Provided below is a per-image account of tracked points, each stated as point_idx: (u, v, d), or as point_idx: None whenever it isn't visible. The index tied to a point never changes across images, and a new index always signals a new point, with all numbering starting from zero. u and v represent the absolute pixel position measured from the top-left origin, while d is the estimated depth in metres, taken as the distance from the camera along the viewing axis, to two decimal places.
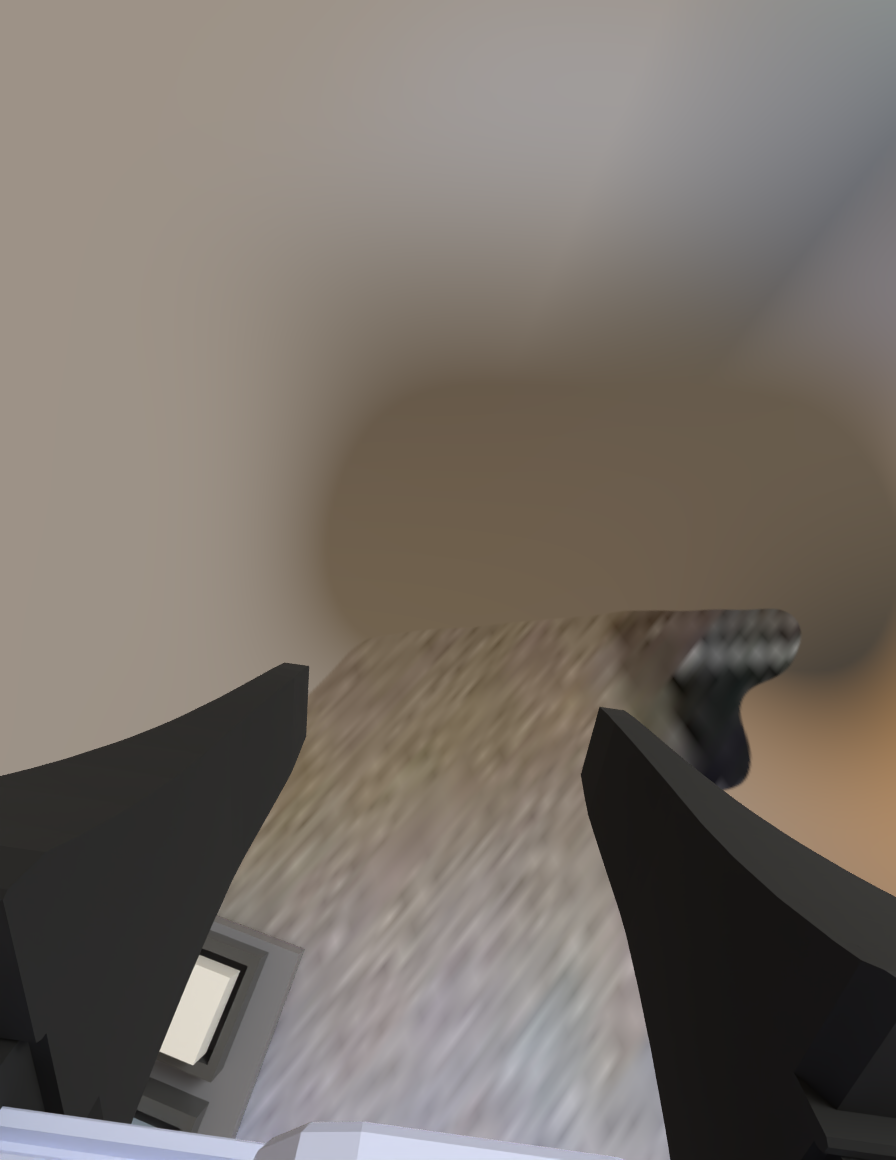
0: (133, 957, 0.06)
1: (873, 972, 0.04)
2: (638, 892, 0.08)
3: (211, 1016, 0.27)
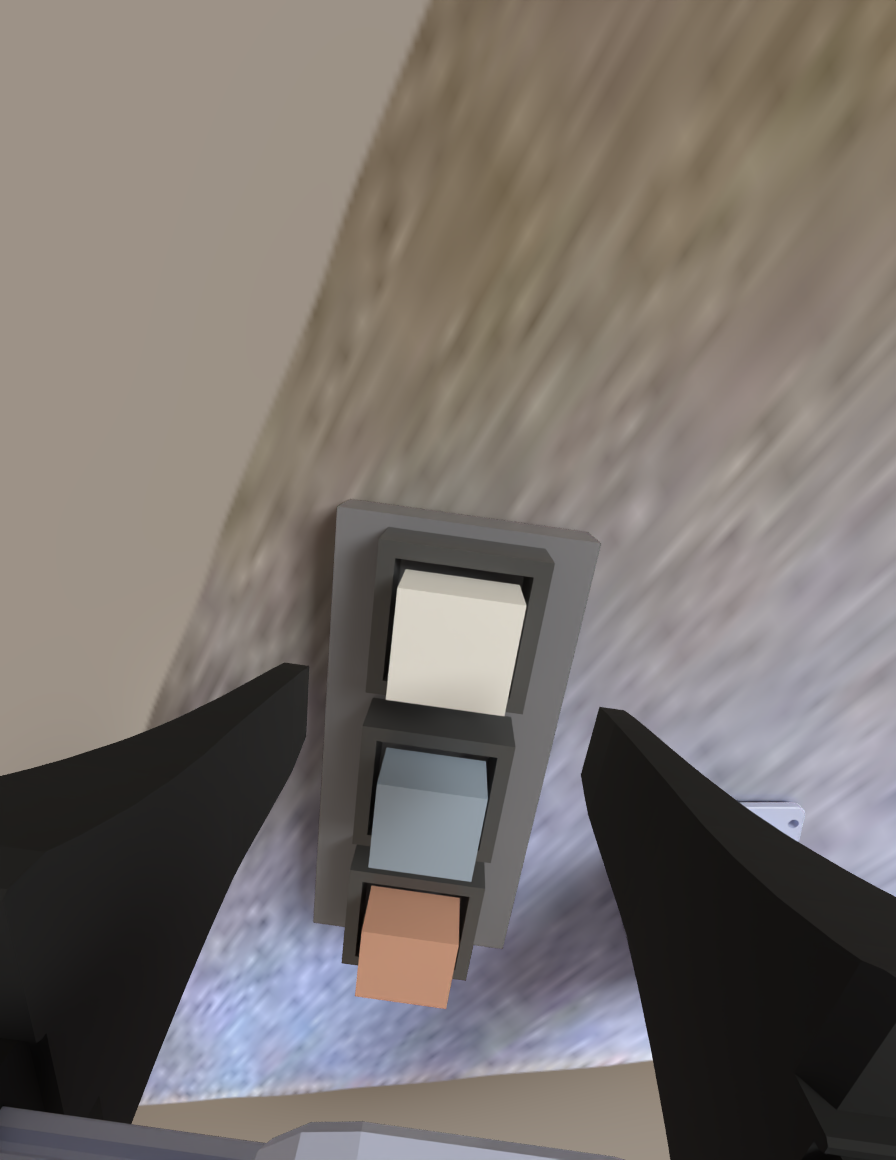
0: (133, 958, 0.06)
1: (873, 972, 0.04)
2: (638, 892, 0.08)
3: (511, 659, 0.15)
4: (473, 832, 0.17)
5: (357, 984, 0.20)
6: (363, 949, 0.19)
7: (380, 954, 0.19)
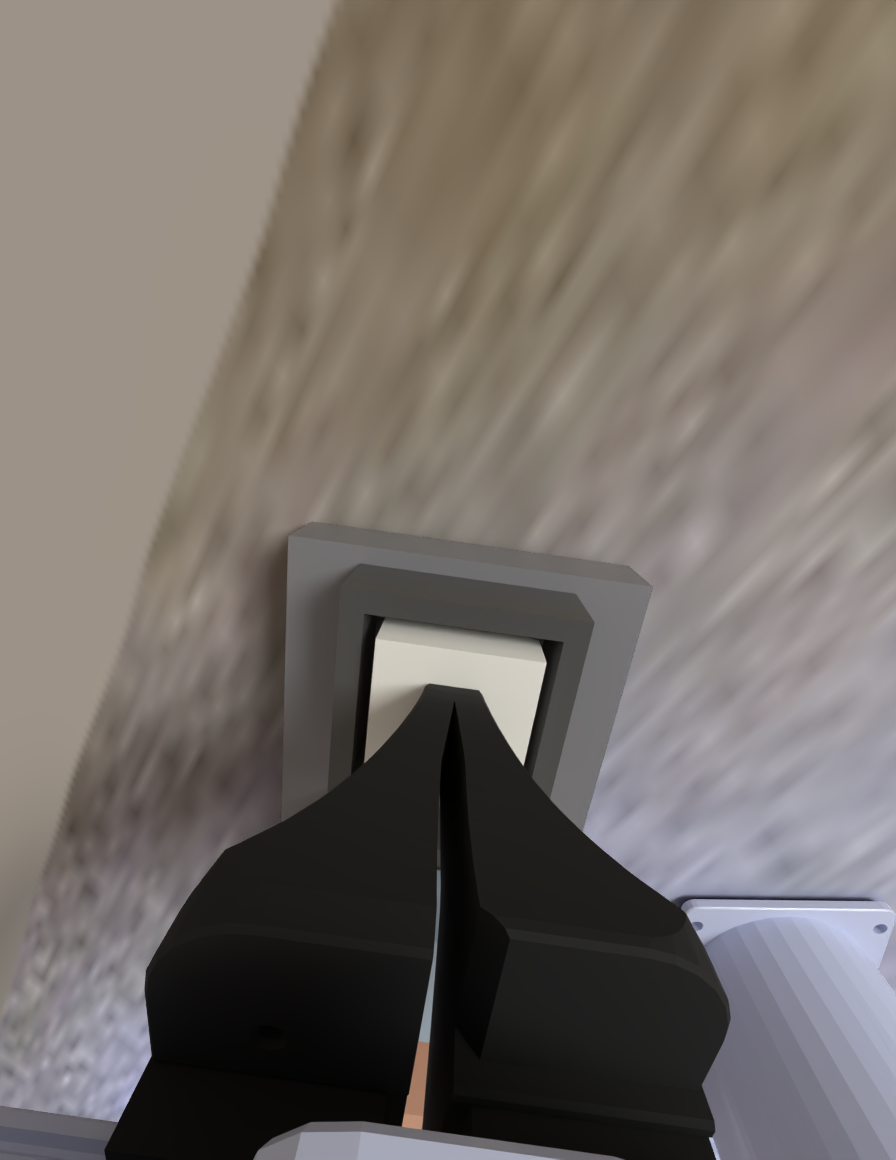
0: None
1: (489, 918, 0.04)
2: (446, 865, 0.08)
3: (526, 730, 0.11)
4: None
5: None
6: None
7: None
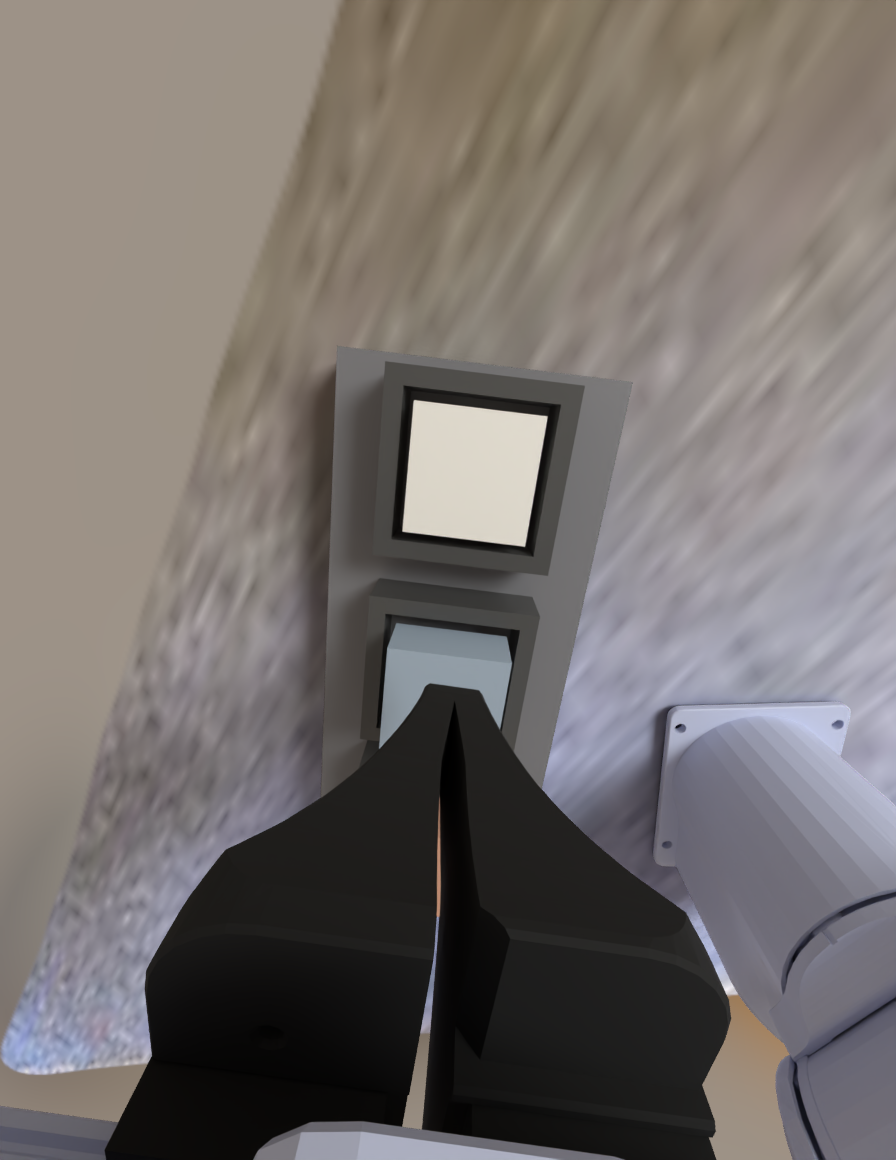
0: None
1: (489, 918, 0.04)
2: (446, 865, 0.08)
3: (532, 479, 0.14)
4: (495, 704, 0.15)
5: None
6: None
7: None
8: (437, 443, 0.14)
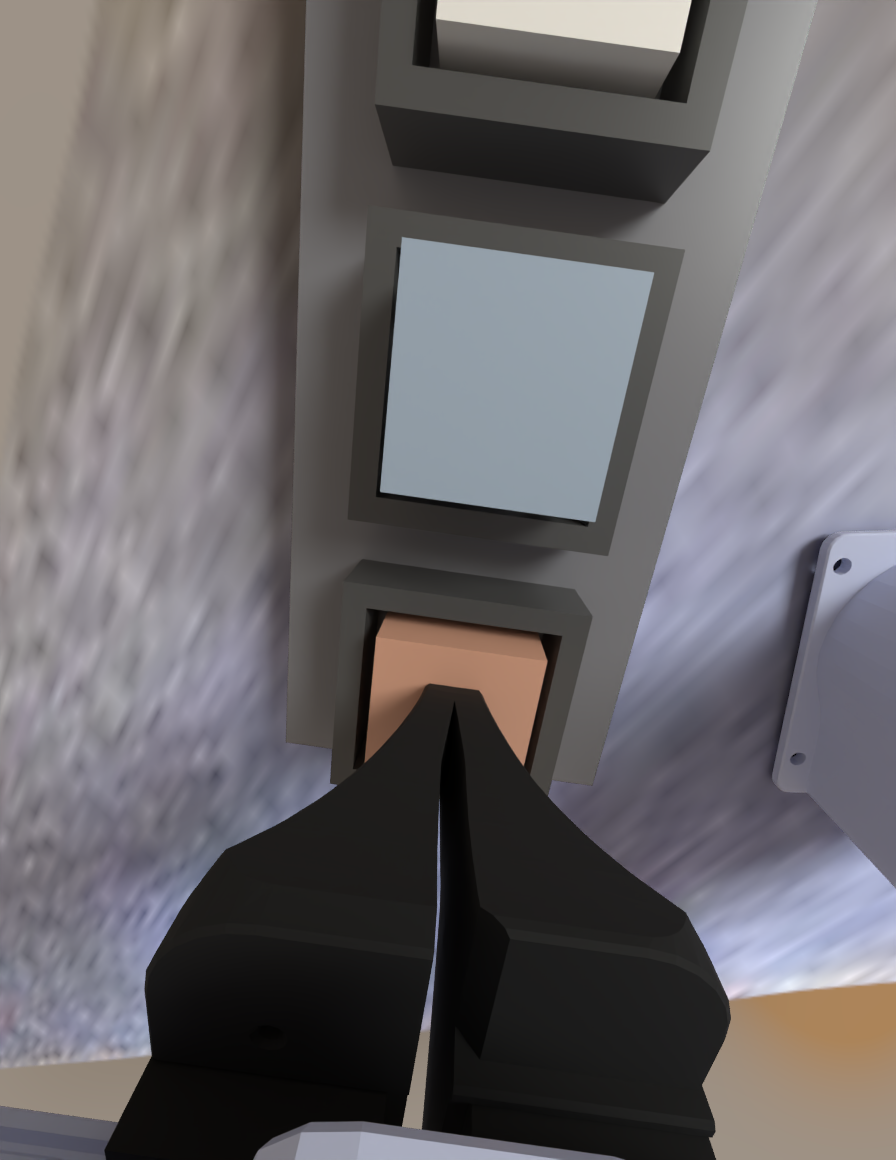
0: None
1: (489, 918, 0.04)
2: (446, 865, 0.08)
3: None
4: (612, 377, 0.08)
5: (367, 752, 0.12)
6: (378, 676, 0.11)
7: (408, 686, 0.11)
8: None
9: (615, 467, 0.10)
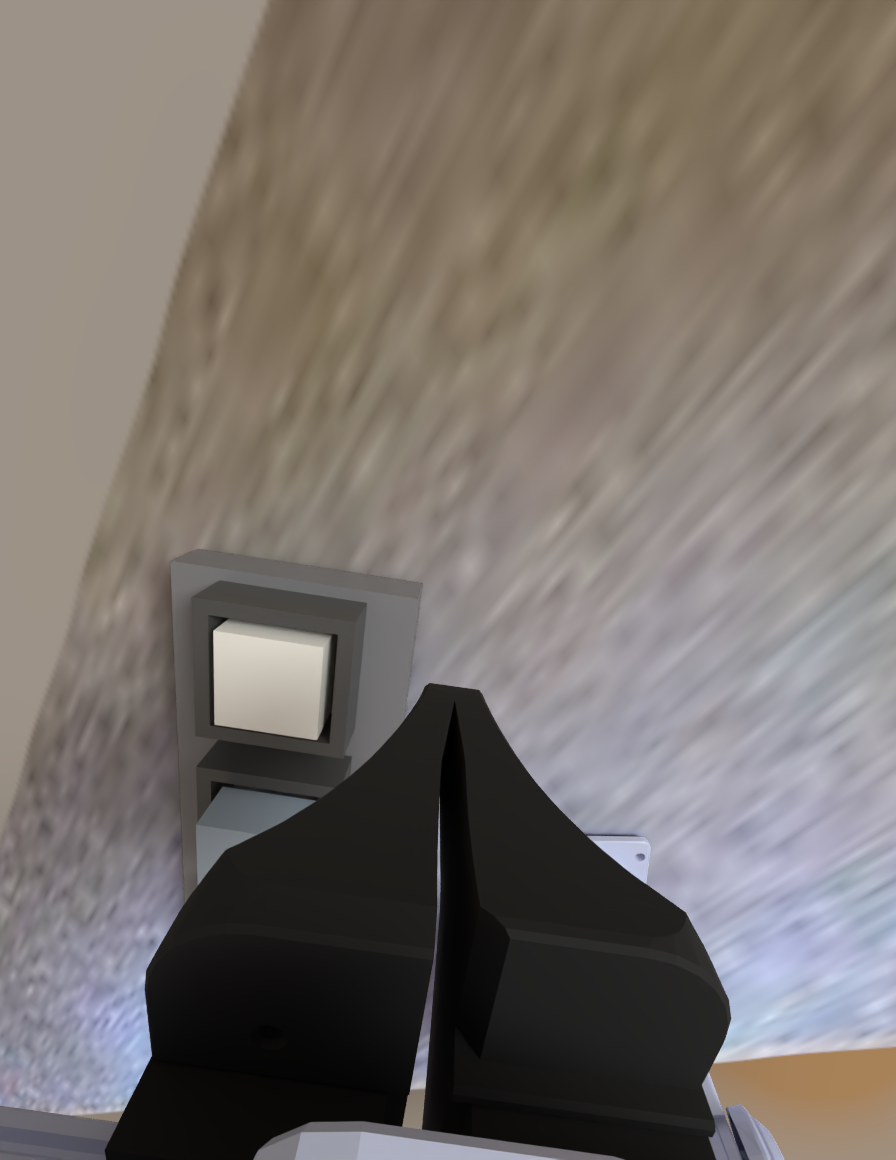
0: None
1: (489, 918, 0.04)
2: (446, 865, 0.08)
3: (317, 692, 0.17)
4: None
5: None
6: None
7: None
8: (236, 662, 0.17)
9: None
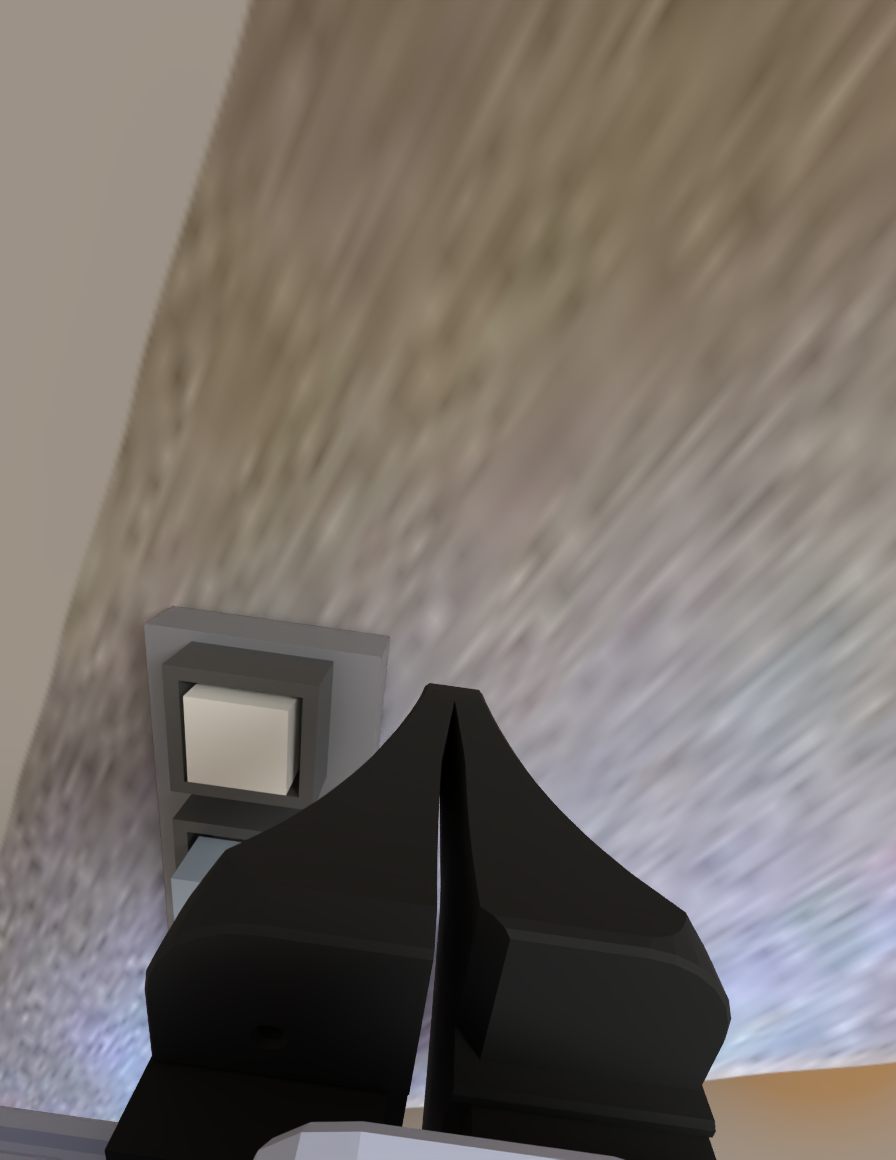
0: None
1: (489, 918, 0.04)
2: (446, 865, 0.08)
3: (284, 751, 0.18)
4: None
5: None
6: None
7: None
8: (205, 724, 0.18)
9: None
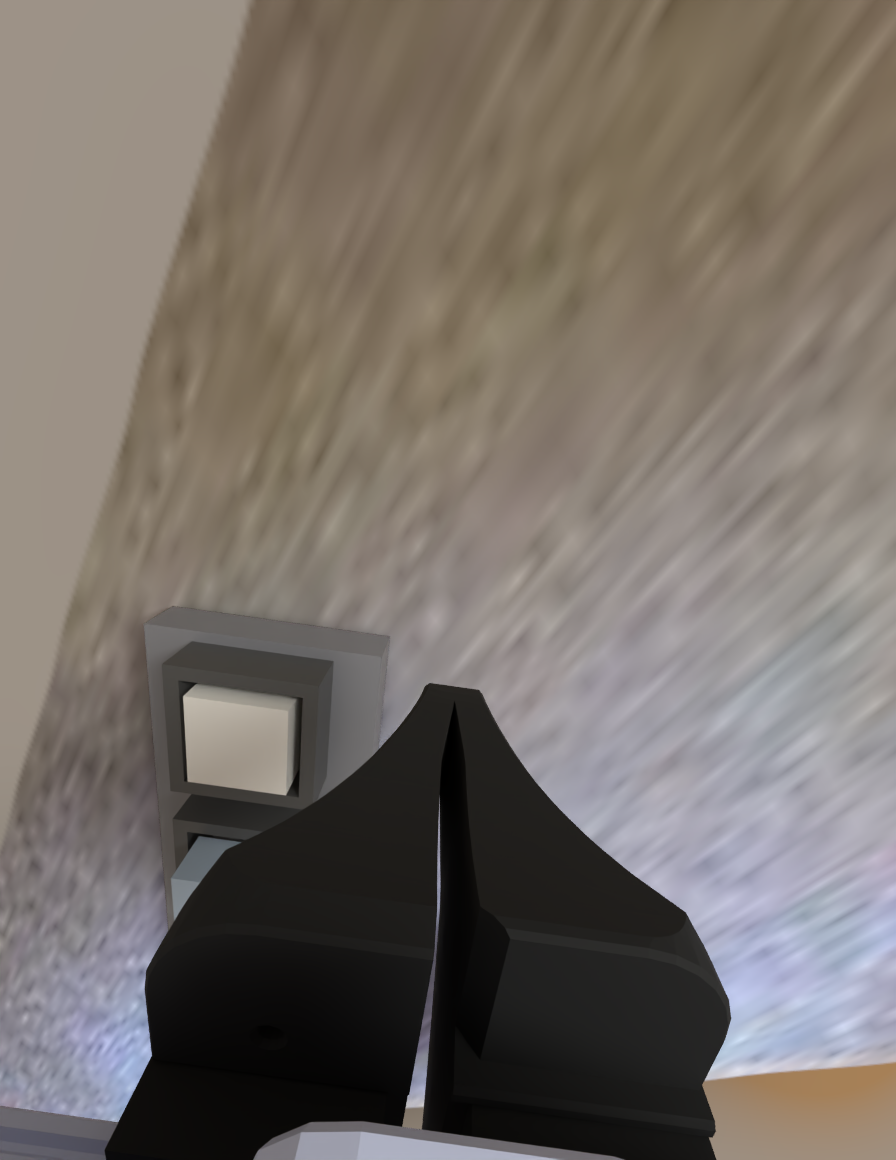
0: None
1: (489, 918, 0.04)
2: (446, 865, 0.08)
3: (284, 751, 0.18)
4: None
5: None
6: None
7: None
8: (205, 724, 0.18)
9: None
